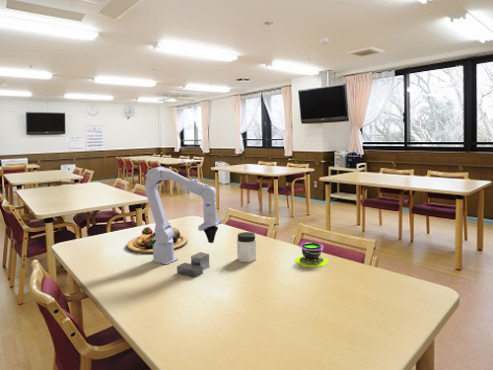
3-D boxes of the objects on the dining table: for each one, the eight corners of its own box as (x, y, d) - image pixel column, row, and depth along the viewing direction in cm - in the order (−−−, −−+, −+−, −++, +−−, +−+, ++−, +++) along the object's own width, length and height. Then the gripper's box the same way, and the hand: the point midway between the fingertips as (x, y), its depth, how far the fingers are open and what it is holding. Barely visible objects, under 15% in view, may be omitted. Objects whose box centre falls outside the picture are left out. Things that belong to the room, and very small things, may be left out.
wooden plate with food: (124, 241, 197) (122, 227, 195) (179, 233, 210) (178, 219, 208) (130, 260, 168) (129, 243, 167) (194, 249, 181) (193, 233, 180)
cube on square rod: (191, 269, 152) (190, 256, 151) (200, 264, 157) (199, 252, 156) (200, 271, 149) (200, 258, 148) (209, 267, 154) (208, 254, 153)
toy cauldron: (314, 270, 148) (314, 245, 146) (288, 261, 159) (287, 237, 158) (335, 261, 157) (335, 237, 156) (309, 253, 169) (309, 231, 167)
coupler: (177, 273, 148) (176, 266, 147) (197, 263, 159) (197, 256, 159) (195, 277, 142) (194, 270, 142) (215, 267, 154) (215, 260, 153)
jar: (246, 264, 156) (245, 238, 155) (233, 259, 162) (233, 234, 161) (259, 258, 162) (259, 234, 161) (247, 254, 168) (247, 230, 167)
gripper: (206, 217, 148) (207, 248, 150) (226, 211, 160) (227, 239, 162) (194, 215, 152) (195, 245, 154) (214, 209, 164) (215, 237, 166)
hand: (211, 242), depth 158 cm, fingers closed
